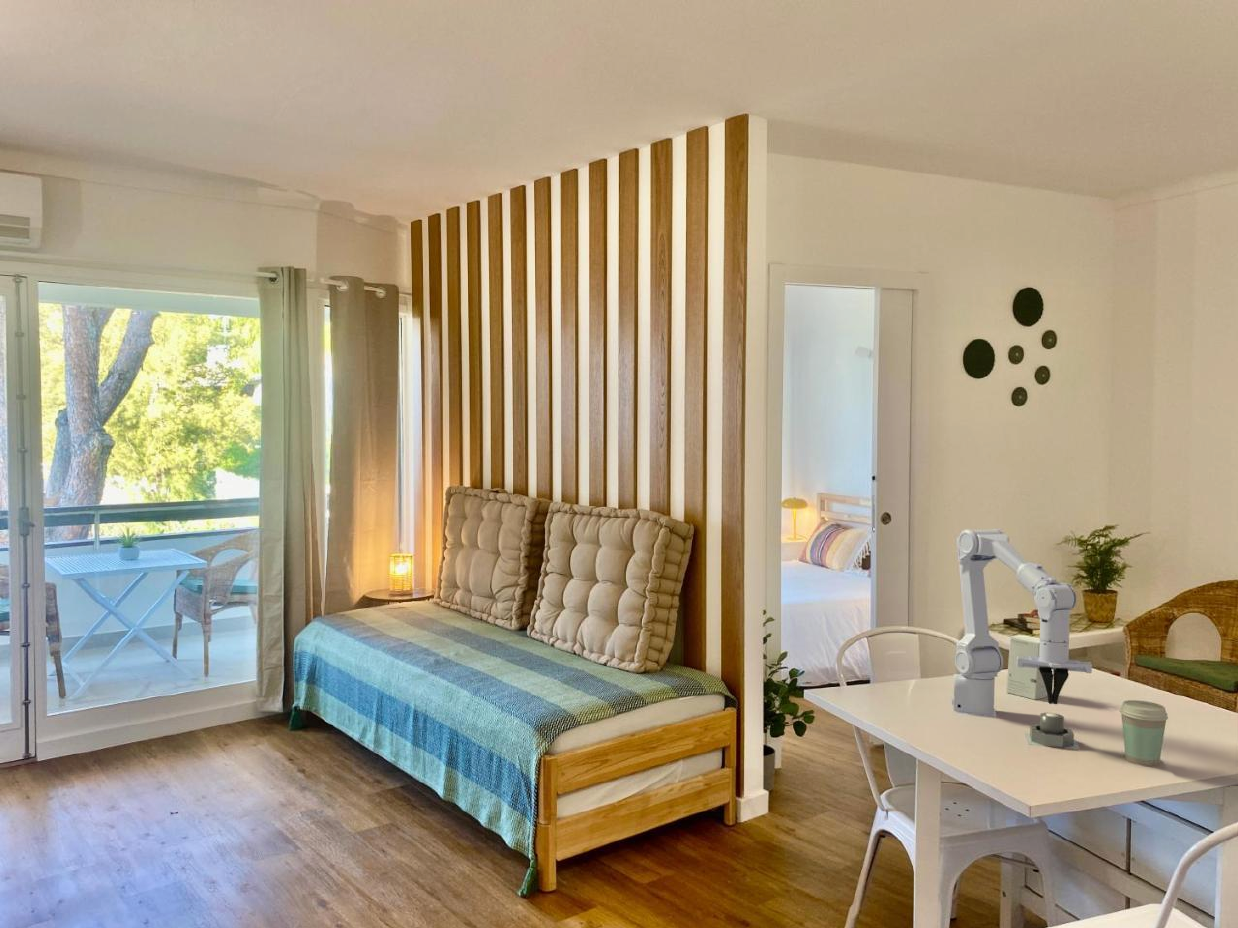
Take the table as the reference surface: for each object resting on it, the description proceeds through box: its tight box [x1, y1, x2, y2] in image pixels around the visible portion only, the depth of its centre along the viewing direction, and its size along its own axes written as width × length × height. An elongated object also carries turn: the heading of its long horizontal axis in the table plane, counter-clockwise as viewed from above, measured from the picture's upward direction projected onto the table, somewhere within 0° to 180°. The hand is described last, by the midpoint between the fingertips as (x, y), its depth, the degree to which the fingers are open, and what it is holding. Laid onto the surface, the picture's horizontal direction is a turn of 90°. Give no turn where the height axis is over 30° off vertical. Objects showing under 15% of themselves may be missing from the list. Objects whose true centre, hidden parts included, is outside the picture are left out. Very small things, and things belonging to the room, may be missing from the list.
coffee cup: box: [1119, 699, 1169, 767], centre depth 188 cm, size 9×8×12 cm
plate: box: [1024, 732, 1081, 751], centre depth 200 cm, size 10×8×1 cm
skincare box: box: [1005, 634, 1048, 700], centre depth 239 cm, size 8×6×15 cm
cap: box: [1039, 712, 1065, 735], centre depth 200 cm, size 5×5×5 cm
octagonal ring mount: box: [1029, 723, 1075, 749], centre depth 200 cm, size 8×8×2 cm
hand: (1052, 702), depth 200 cm, fingers closed
